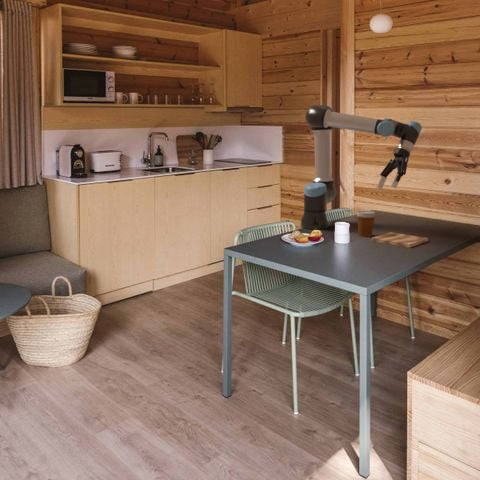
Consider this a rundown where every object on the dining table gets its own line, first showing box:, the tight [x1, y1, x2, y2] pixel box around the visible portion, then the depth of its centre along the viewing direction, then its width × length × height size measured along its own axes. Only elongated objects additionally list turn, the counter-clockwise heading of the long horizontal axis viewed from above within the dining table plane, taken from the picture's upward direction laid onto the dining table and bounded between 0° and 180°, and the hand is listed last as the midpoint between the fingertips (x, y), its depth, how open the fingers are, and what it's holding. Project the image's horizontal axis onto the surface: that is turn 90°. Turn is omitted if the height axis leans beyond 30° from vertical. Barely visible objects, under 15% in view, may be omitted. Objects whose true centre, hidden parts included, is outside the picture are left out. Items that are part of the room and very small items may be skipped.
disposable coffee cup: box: [356, 210, 377, 238], centre depth 279 cm, size 10×10×12 cm
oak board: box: [370, 232, 429, 249], centre depth 267 cm, size 20×18×2 cm
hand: (386, 187), depth 280 cm, fingers open, 13 cm apart
